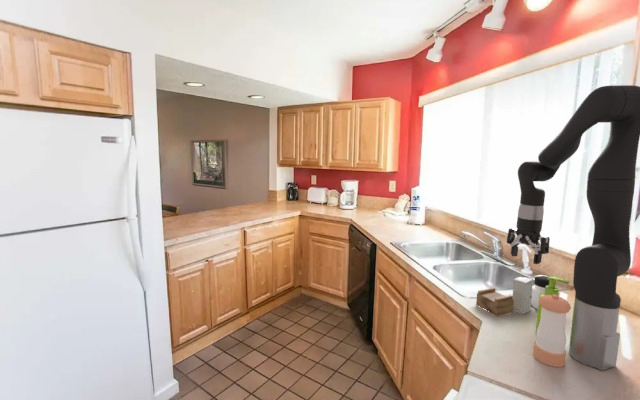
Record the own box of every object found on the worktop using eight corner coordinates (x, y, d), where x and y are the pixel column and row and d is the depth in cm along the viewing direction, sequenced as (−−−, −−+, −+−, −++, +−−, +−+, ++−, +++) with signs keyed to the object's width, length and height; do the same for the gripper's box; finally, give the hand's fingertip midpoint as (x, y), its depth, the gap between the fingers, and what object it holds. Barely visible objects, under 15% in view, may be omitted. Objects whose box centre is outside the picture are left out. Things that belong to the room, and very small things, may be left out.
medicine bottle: (558, 311, 113) (561, 280, 112) (538, 311, 113) (541, 280, 112) (544, 302, 120) (547, 273, 119) (526, 302, 120) (528, 273, 119)
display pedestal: (512, 312, 112) (513, 296, 111) (496, 316, 109) (497, 300, 109) (491, 302, 120) (492, 287, 120) (476, 305, 118) (477, 290, 117)
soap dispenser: (563, 345, 92) (570, 283, 89) (535, 337, 96) (541, 277, 93) (562, 337, 97) (569, 277, 94) (536, 329, 101) (541, 272, 98)
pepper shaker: (534, 347, 91) (540, 287, 89) (565, 357, 87) (572, 294, 84) (531, 359, 86) (538, 295, 83) (564, 370, 81) (572, 303, 78)
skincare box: (523, 314, 111) (526, 283, 109) (510, 309, 114) (513, 279, 113) (531, 310, 114) (534, 279, 112) (518, 305, 118) (520, 275, 116)
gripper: (558, 220, 103) (551, 265, 106) (519, 212, 117) (514, 252, 119) (542, 221, 101) (536, 267, 104) (504, 213, 114) (500, 254, 117)
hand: (524, 259), depth 111 cm, fingers open, 8 cm apart
